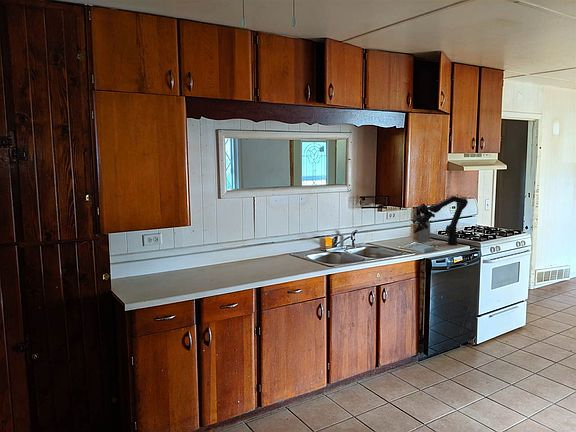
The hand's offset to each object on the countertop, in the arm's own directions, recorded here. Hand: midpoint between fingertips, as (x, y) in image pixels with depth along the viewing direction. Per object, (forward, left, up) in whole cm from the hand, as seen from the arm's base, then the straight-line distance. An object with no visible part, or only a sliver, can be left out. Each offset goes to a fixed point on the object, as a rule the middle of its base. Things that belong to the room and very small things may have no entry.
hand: (413, 232), depth 377 cm
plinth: (-6, +12, -13) cm, 18 cm away
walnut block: (-1, -1, -7) cm, 7 cm away
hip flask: (-11, -23, -13) cm, 29 cm away
